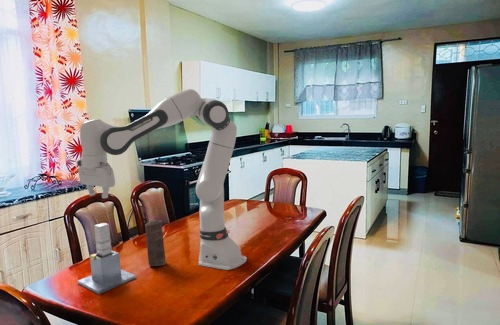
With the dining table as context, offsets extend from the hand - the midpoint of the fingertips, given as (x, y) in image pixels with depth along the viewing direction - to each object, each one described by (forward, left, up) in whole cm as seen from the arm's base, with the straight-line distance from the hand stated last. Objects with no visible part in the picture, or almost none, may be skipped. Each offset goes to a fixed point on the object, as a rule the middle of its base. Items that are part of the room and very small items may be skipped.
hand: (98, 196), depth 138 cm
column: (0, 0, -33) cm, 33 cm away
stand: (0, 0, -35) cm, 35 cm away
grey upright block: (-5, -21, -35) cm, 41 cm away
